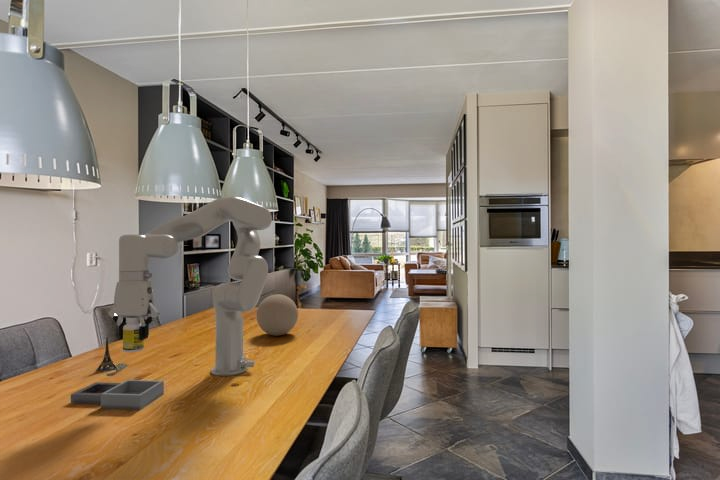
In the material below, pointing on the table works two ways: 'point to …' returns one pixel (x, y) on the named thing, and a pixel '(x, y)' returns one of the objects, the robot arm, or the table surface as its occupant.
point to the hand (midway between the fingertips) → (133, 338)
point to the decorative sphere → (277, 314)
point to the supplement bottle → (132, 335)
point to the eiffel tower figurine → (109, 363)
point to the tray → (132, 394)
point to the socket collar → (91, 393)
